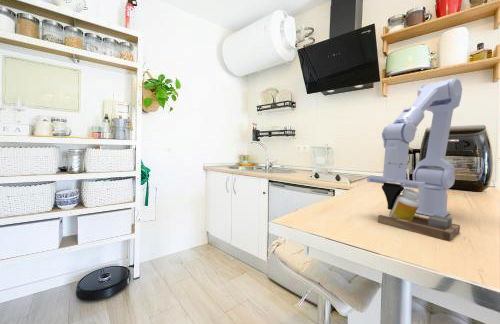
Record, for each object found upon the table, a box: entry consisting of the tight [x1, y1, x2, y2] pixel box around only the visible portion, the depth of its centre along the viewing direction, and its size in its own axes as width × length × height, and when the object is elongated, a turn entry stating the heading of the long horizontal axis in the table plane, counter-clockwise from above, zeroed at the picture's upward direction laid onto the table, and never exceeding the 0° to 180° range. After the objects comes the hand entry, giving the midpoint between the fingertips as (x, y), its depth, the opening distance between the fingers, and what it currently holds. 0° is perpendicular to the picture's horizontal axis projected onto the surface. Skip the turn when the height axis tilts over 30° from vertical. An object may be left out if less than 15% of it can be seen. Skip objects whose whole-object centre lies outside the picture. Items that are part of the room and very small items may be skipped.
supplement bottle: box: [388, 188, 420, 222], centre depth 62 cm, size 5×5×10 cm
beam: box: [377, 210, 461, 242], centre depth 60 cm, size 9×16×4 cm, turn 36°
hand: (391, 209), depth 65 cm, fingers closed, pressing on supplement bottle
